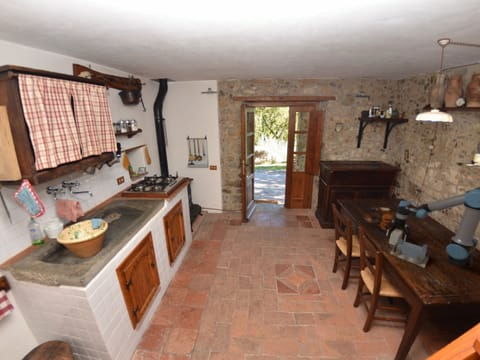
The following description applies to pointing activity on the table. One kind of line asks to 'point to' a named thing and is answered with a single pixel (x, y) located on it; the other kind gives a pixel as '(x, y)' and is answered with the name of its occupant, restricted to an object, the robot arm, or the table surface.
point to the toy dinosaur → (386, 221)
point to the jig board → (418, 262)
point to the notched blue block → (411, 250)
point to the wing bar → (395, 236)
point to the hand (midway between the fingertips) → (395, 238)
